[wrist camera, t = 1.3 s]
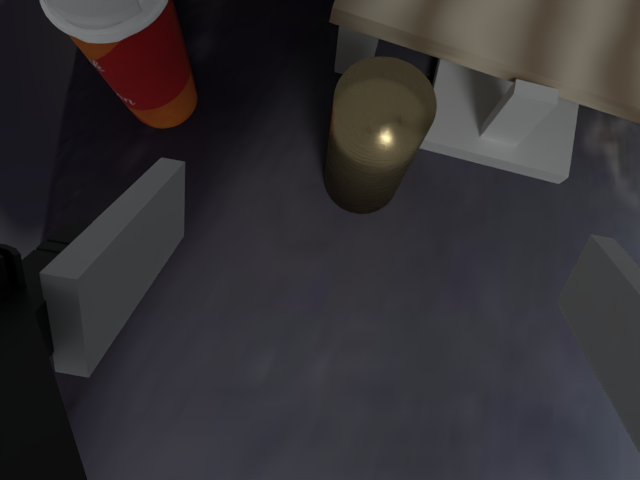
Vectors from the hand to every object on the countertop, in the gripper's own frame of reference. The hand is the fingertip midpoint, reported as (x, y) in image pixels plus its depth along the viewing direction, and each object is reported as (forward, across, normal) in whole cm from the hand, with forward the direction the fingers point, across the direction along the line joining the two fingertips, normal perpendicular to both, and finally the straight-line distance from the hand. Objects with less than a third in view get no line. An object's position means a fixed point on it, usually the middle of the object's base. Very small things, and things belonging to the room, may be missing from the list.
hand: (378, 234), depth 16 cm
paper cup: (+26, -17, -5) cm, 31 cm away
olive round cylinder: (+23, +1, -8) cm, 24 cm away
